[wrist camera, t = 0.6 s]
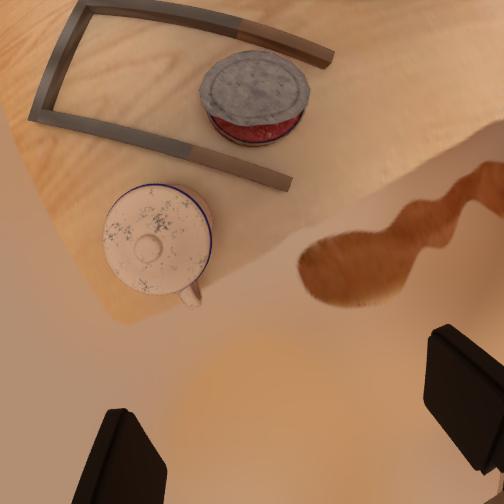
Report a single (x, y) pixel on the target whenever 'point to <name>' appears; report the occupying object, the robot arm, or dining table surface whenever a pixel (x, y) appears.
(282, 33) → the can dock
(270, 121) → the canned food
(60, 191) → the dining table surface
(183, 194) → the teacup with lid
